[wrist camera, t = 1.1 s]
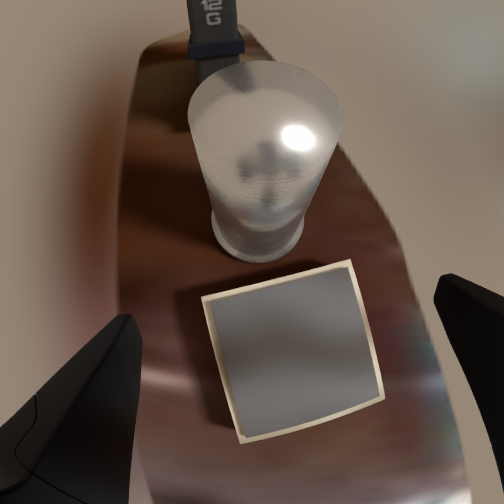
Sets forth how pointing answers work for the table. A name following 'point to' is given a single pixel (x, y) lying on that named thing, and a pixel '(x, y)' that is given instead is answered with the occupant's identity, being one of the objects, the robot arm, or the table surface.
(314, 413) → the stand
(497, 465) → the robot arm
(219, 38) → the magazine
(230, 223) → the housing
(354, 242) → the table surface
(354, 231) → the table surface
